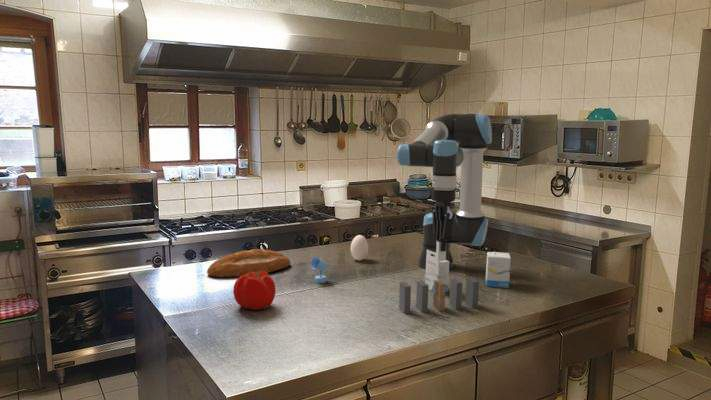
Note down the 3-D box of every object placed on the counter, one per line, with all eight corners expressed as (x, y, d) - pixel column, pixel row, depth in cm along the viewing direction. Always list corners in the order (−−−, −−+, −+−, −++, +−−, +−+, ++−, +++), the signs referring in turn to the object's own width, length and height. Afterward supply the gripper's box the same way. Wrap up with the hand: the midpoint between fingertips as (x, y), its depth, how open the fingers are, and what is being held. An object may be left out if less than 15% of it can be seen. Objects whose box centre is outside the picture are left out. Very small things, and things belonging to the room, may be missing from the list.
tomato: (257, 317, 162) (256, 281, 161) (224, 308, 170) (223, 273, 168) (284, 305, 174) (284, 271, 172) (253, 297, 181) (252, 264, 179)
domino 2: (416, 307, 174) (416, 281, 173) (421, 306, 174) (422, 280, 173) (421, 312, 169) (422, 285, 168) (427, 312, 170) (428, 285, 168)
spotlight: (317, 284, 196) (330, 281, 201) (317, 258, 195) (331, 255, 199) (308, 281, 200) (322, 278, 204) (308, 256, 198) (322, 253, 203)
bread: (201, 271, 212) (200, 250, 210) (282, 261, 230) (282, 241, 228) (213, 283, 197) (213, 260, 196) (299, 271, 215) (299, 250, 214)
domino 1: (399, 308, 172) (399, 282, 171) (404, 308, 173) (405, 281, 172) (404, 313, 168) (405, 286, 166) (410, 313, 168) (410, 286, 167)
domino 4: (465, 303, 178) (466, 277, 177) (470, 302, 179) (472, 277, 178) (472, 308, 174) (473, 282, 172) (477, 307, 174) (479, 281, 173)
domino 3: (449, 304, 177) (450, 278, 176) (454, 304, 177) (455, 278, 176) (455, 309, 172) (456, 283, 171) (461, 309, 173) (462, 282, 171)
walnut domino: (432, 305, 175) (433, 280, 174) (438, 305, 176) (439, 279, 174) (439, 311, 170) (440, 284, 169) (444, 310, 171) (445, 284, 170)
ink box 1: (448, 292, 190) (450, 253, 187) (437, 294, 187) (439, 254, 185) (435, 285, 197) (437, 247, 195) (424, 287, 195) (425, 249, 193)
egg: (371, 259, 233) (372, 234, 231) (362, 263, 226) (362, 237, 225) (356, 257, 237) (356, 232, 236) (346, 260, 231) (347, 235, 229)
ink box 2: (509, 288, 196) (511, 257, 194) (486, 286, 197) (487, 256, 196) (507, 281, 204) (509, 252, 202) (485, 279, 206) (486, 251, 204)
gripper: (424, 186, 173) (422, 255, 176) (441, 191, 160) (438, 266, 164) (445, 185, 175) (442, 254, 178) (463, 191, 162) (460, 264, 166)
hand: (440, 260), depth 171 cm, fingers closed
